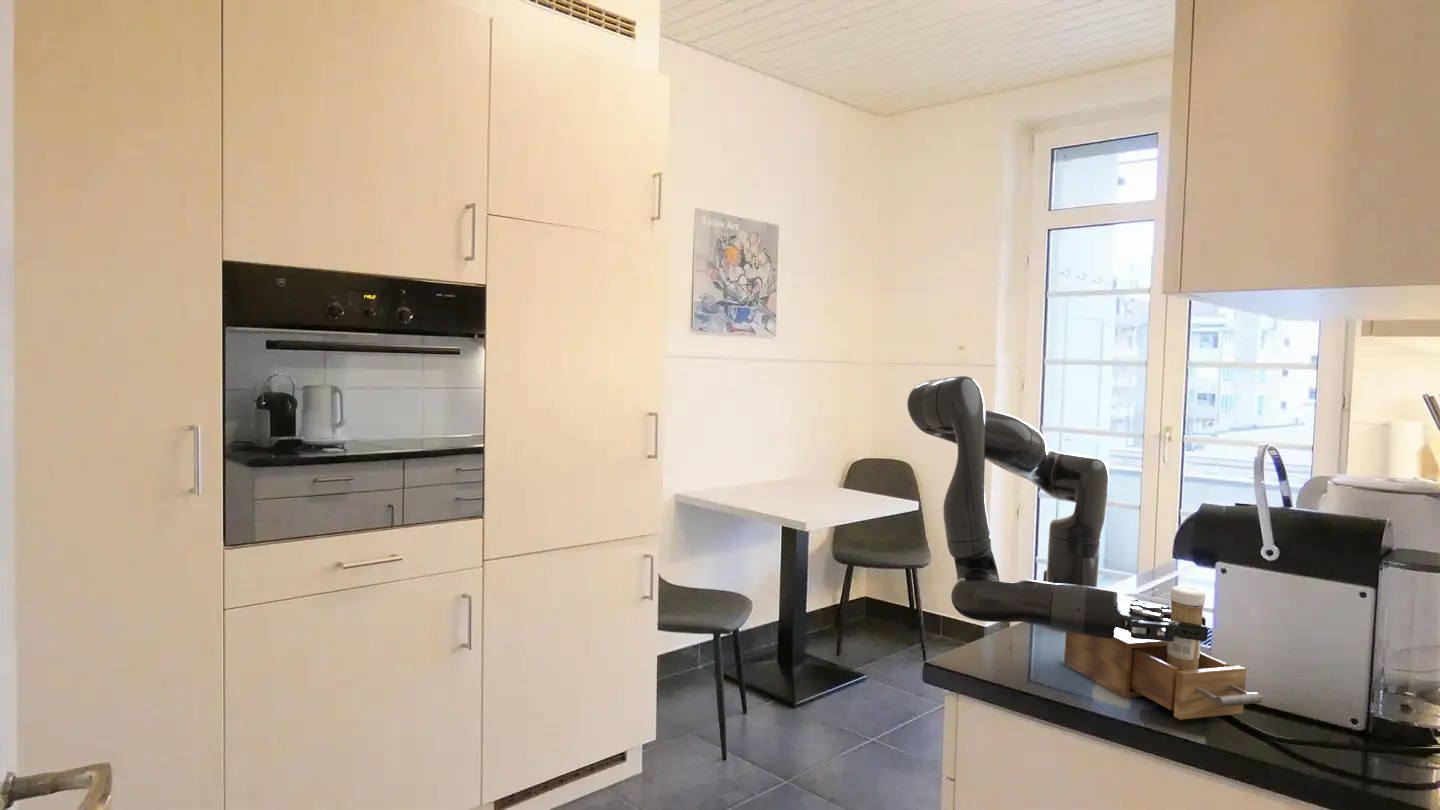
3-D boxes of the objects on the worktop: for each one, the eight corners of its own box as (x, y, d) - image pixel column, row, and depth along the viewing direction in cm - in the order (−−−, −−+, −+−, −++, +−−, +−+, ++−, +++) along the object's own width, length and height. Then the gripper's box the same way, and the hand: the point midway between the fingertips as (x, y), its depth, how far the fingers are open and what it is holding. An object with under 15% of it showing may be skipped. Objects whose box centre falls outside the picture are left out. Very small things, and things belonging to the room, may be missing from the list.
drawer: (1272, 727, 125) (1276, 681, 125) (1207, 734, 122) (1210, 687, 122) (1172, 678, 143) (1175, 637, 142) (1113, 684, 140) (1116, 642, 139)
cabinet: (1191, 691, 140) (1195, 638, 139) (1124, 697, 137) (1128, 643, 136) (1125, 659, 154) (1128, 610, 153) (1063, 663, 151) (1067, 614, 150)
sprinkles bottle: (1203, 678, 133) (1211, 591, 132) (1187, 684, 131) (1195, 595, 130) (1174, 668, 137) (1181, 583, 136) (1157, 673, 135) (1165, 587, 134)
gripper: (1082, 598, 133) (1212, 617, 125) (1087, 576, 146) (1205, 592, 138) (1078, 646, 133) (1207, 669, 126) (1083, 620, 146) (1200, 639, 139)
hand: (1205, 629), depth 132 cm, fingers closed on sprinkles bottle, 4 cm apart
